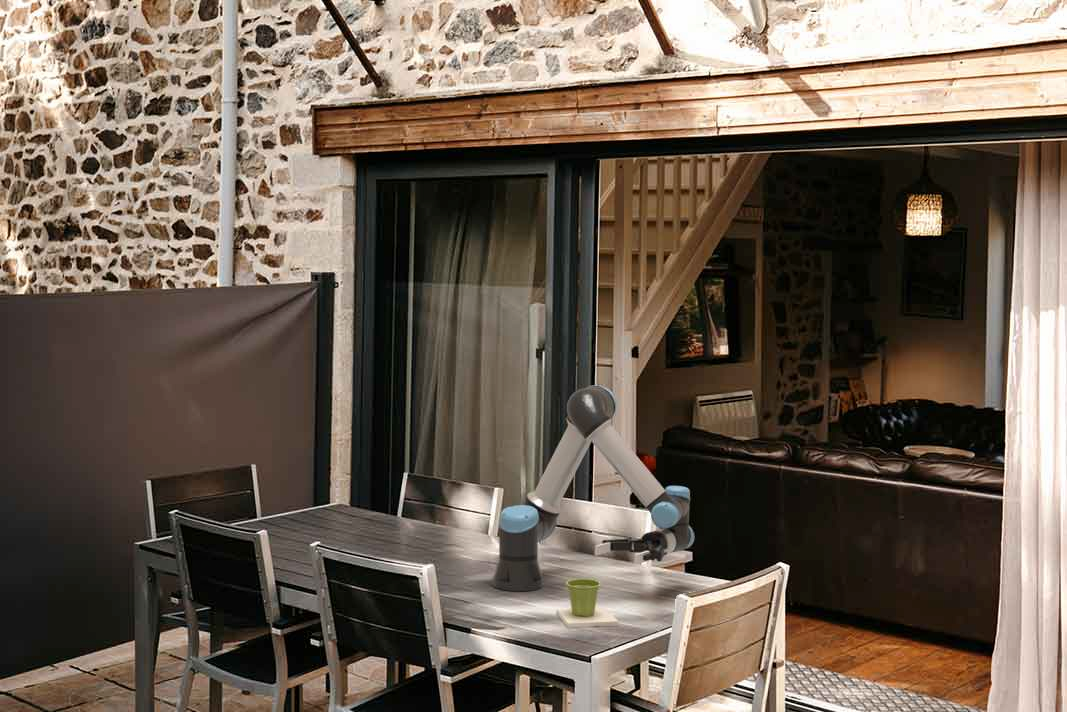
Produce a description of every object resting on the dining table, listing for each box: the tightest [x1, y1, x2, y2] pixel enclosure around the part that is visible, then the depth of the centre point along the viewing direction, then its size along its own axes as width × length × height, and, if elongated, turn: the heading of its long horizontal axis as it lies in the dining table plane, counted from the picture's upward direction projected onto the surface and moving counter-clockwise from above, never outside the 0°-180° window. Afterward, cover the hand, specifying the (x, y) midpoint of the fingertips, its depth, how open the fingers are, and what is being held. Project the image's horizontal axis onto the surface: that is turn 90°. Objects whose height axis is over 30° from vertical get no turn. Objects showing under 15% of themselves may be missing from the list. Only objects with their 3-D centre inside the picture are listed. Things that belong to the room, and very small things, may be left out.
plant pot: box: [566, 578, 602, 617], centre depth 342 cm, size 9×9×9 cm
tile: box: [556, 607, 619, 629], centre depth 341 cm, size 14×14×1 cm
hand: (615, 554), depth 350 cm, fingers open, 13 cm apart
